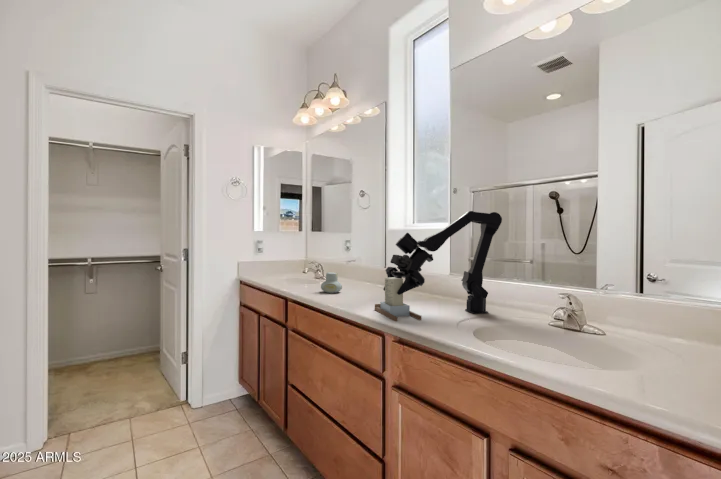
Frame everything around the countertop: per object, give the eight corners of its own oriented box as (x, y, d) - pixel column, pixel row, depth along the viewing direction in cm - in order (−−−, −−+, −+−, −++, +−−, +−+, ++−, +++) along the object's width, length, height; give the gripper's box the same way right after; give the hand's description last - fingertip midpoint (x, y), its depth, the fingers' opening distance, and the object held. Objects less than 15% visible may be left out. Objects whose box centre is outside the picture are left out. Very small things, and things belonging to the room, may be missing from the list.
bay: (397, 309, 140) (397, 303, 140) (421, 320, 121) (421, 313, 121) (374, 310, 137) (374, 303, 137) (394, 321, 118) (395, 314, 118)
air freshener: (343, 291, 184) (343, 272, 184) (340, 294, 176) (341, 274, 176) (322, 290, 185) (323, 272, 185) (319, 293, 177) (319, 273, 177)
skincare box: (403, 311, 128) (403, 278, 128) (393, 312, 126) (393, 279, 126) (393, 308, 134) (394, 276, 134) (383, 309, 132) (384, 277, 132)
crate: (398, 310, 136) (398, 301, 136) (409, 315, 127) (409, 305, 127) (380, 311, 134) (380, 301, 134) (389, 316, 125) (390, 306, 125)
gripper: (389, 246, 141) (365, 274, 136) (418, 248, 125) (392, 280, 120) (405, 265, 145) (382, 294, 140) (435, 269, 129) (410, 301, 123)
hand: (390, 292), depth 131 cm, fingers open, 9 cm apart
